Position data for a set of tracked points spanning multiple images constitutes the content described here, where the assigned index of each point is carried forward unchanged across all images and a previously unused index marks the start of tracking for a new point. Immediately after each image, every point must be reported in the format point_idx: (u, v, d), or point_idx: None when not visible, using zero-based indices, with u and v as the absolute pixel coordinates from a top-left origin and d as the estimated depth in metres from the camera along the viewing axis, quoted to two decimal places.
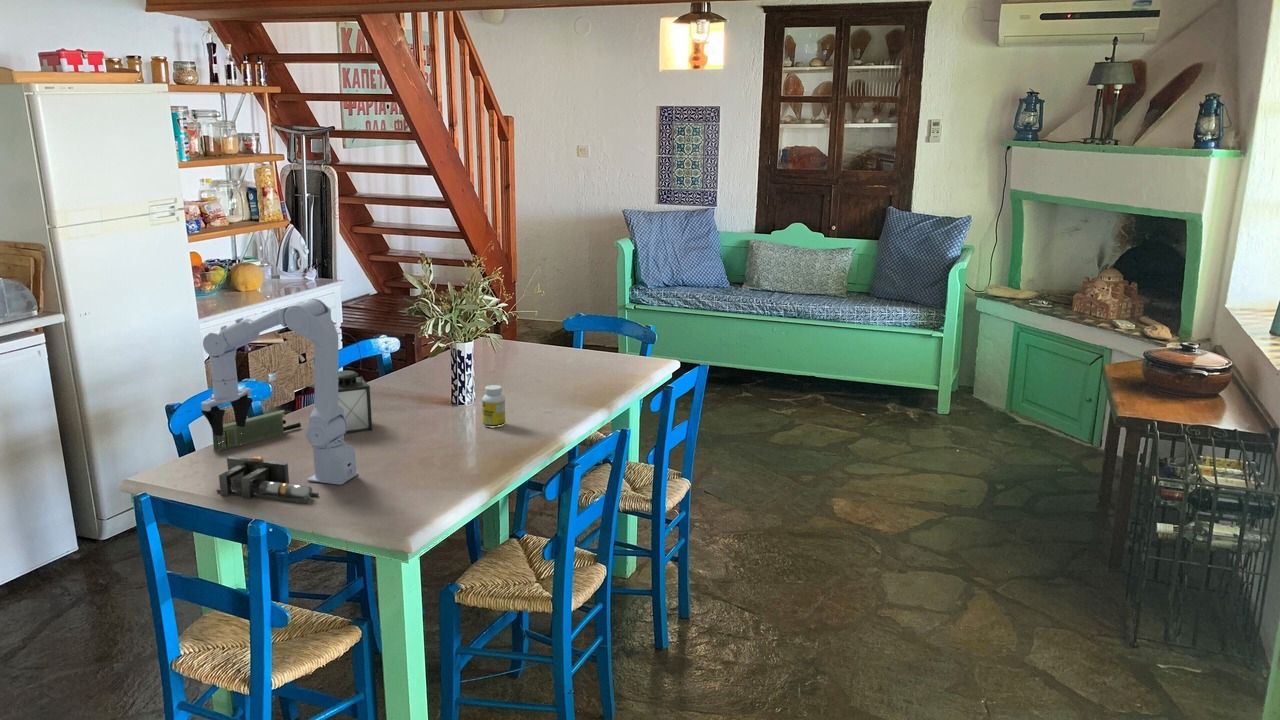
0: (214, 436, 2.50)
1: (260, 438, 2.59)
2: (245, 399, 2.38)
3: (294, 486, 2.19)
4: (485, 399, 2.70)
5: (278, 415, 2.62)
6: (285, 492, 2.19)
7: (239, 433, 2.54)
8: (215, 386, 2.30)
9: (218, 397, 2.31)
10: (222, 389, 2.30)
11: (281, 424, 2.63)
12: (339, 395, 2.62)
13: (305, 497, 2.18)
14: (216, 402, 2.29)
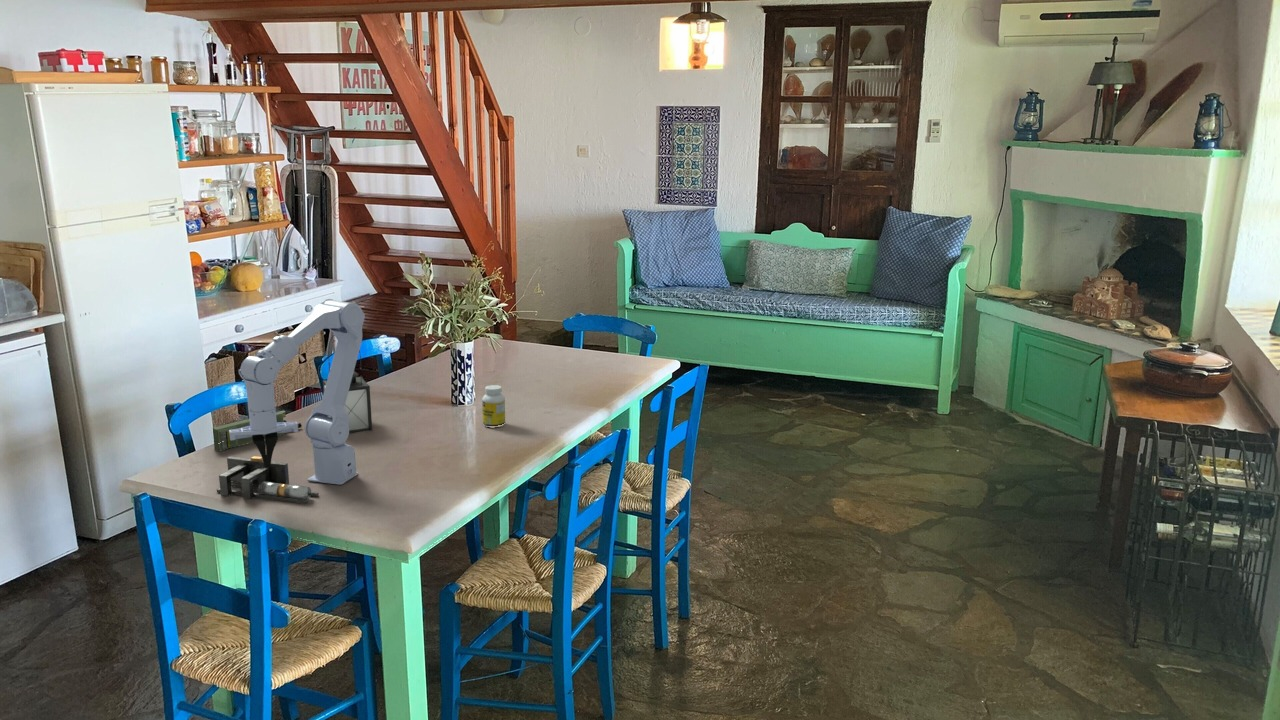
0: (215, 437, 2.50)
1: None
2: (269, 437, 2.14)
3: (292, 488, 2.18)
4: (485, 399, 2.70)
5: (278, 416, 2.62)
6: (284, 494, 2.18)
7: None
8: (249, 415, 2.13)
9: (250, 427, 2.13)
10: (251, 420, 2.12)
11: None
12: None
13: (305, 499, 2.18)
14: (241, 433, 2.11)
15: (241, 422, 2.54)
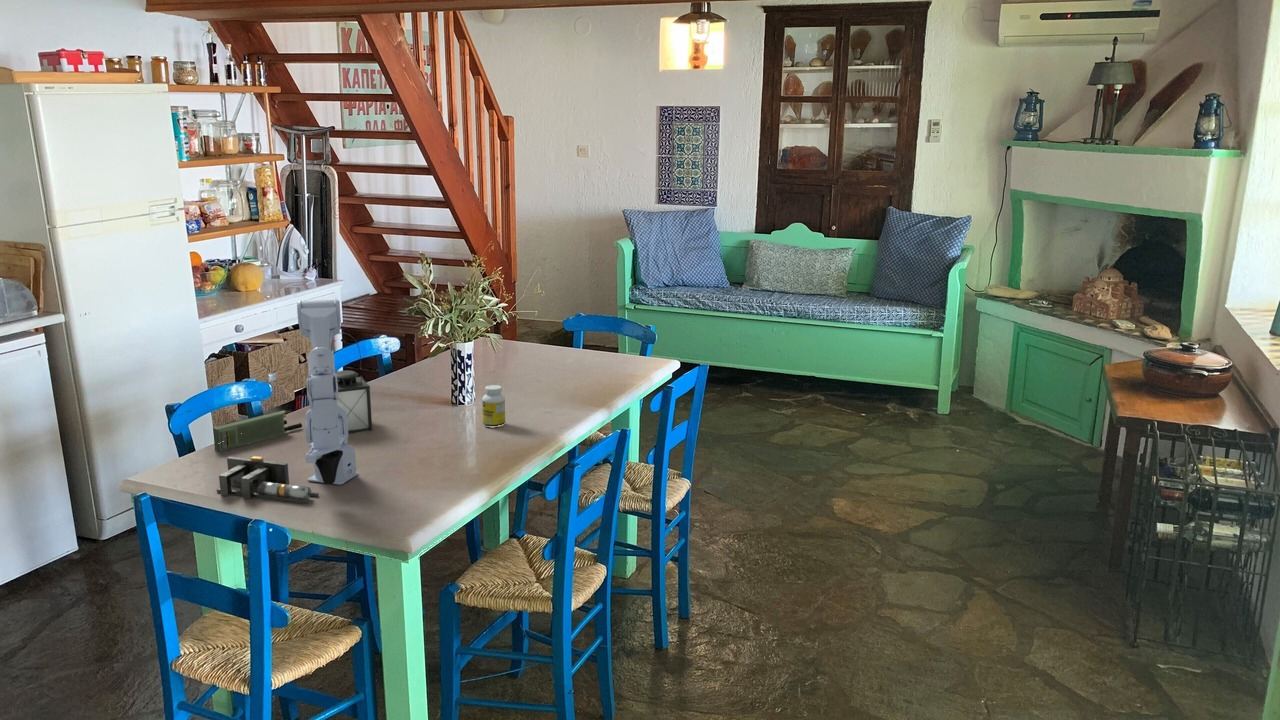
0: (215, 437, 2.49)
1: (261, 439, 2.59)
2: (336, 452, 2.15)
3: (292, 488, 2.18)
4: (485, 399, 2.70)
5: (279, 416, 2.62)
6: (284, 494, 2.18)
7: (240, 433, 2.54)
8: (318, 435, 2.11)
9: (320, 447, 2.11)
10: (325, 438, 2.11)
11: (282, 424, 2.63)
12: (339, 395, 2.62)
13: None
14: (321, 453, 2.09)
15: (241, 422, 2.54)
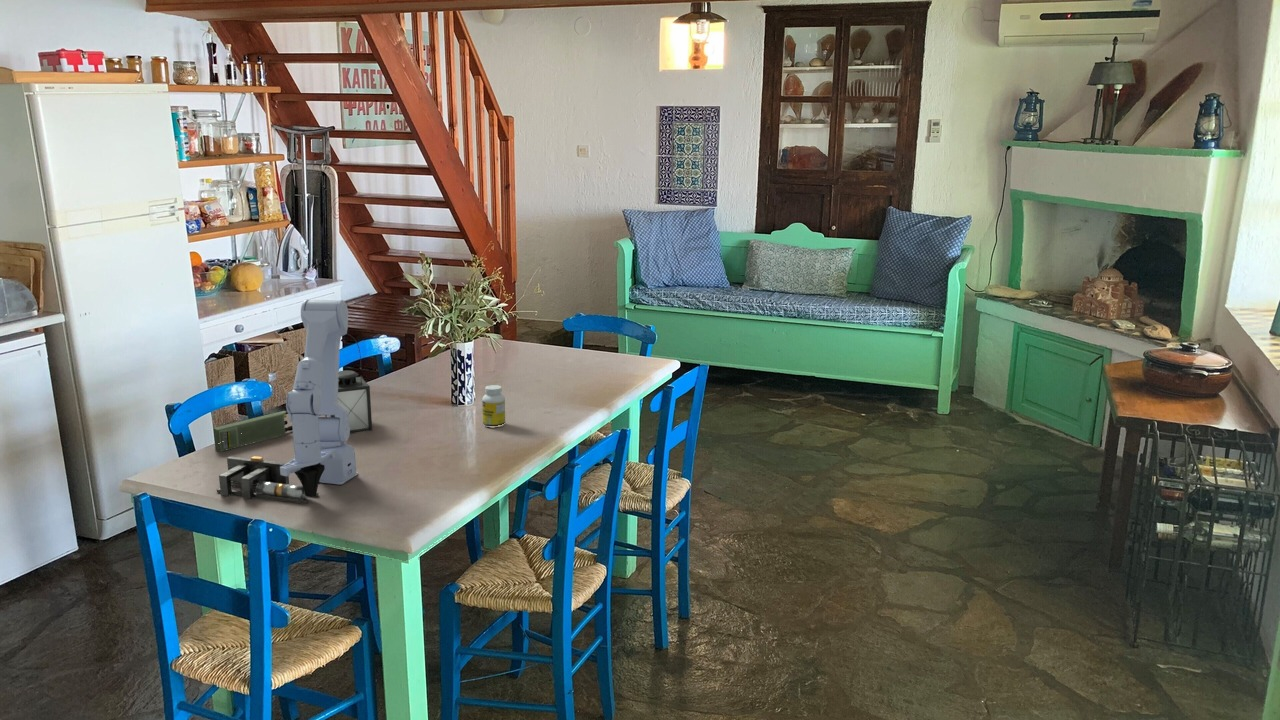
0: (216, 437, 2.49)
1: (261, 439, 2.59)
2: (317, 466, 2.17)
3: (289, 488, 2.18)
4: (485, 399, 2.70)
5: (279, 416, 2.62)
6: (282, 494, 2.18)
7: (241, 434, 2.54)
8: (296, 448, 2.13)
9: (299, 460, 2.14)
10: (303, 452, 2.13)
11: (283, 425, 2.63)
12: (339, 395, 2.62)
13: (302, 498, 2.18)
14: (295, 467, 2.12)
15: (242, 422, 2.54)
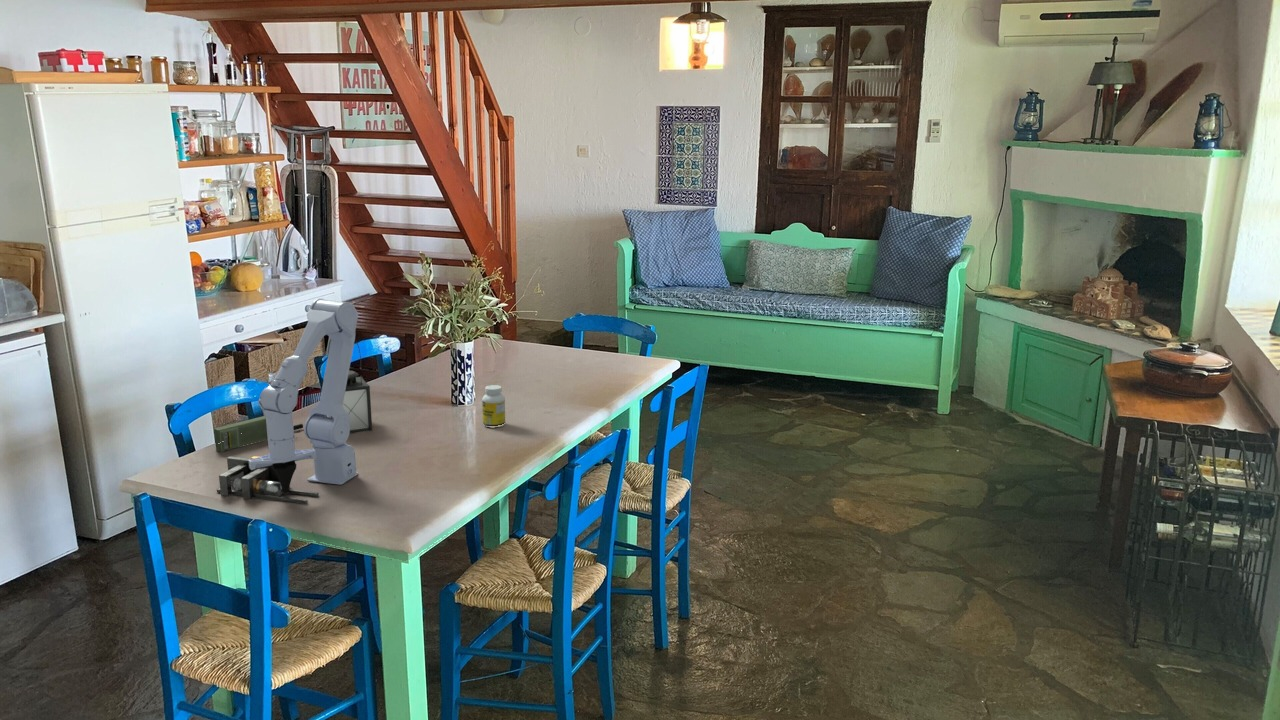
0: (216, 437, 2.49)
1: (262, 439, 2.59)
2: (288, 465, 2.17)
3: (267, 483, 2.21)
4: (485, 399, 2.70)
5: None
6: (259, 489, 2.21)
7: (241, 434, 2.53)
8: (268, 444, 2.16)
9: (269, 456, 2.16)
10: (271, 449, 2.15)
11: None
12: None
13: (278, 494, 2.20)
14: (262, 462, 2.14)
15: (243, 423, 2.54)
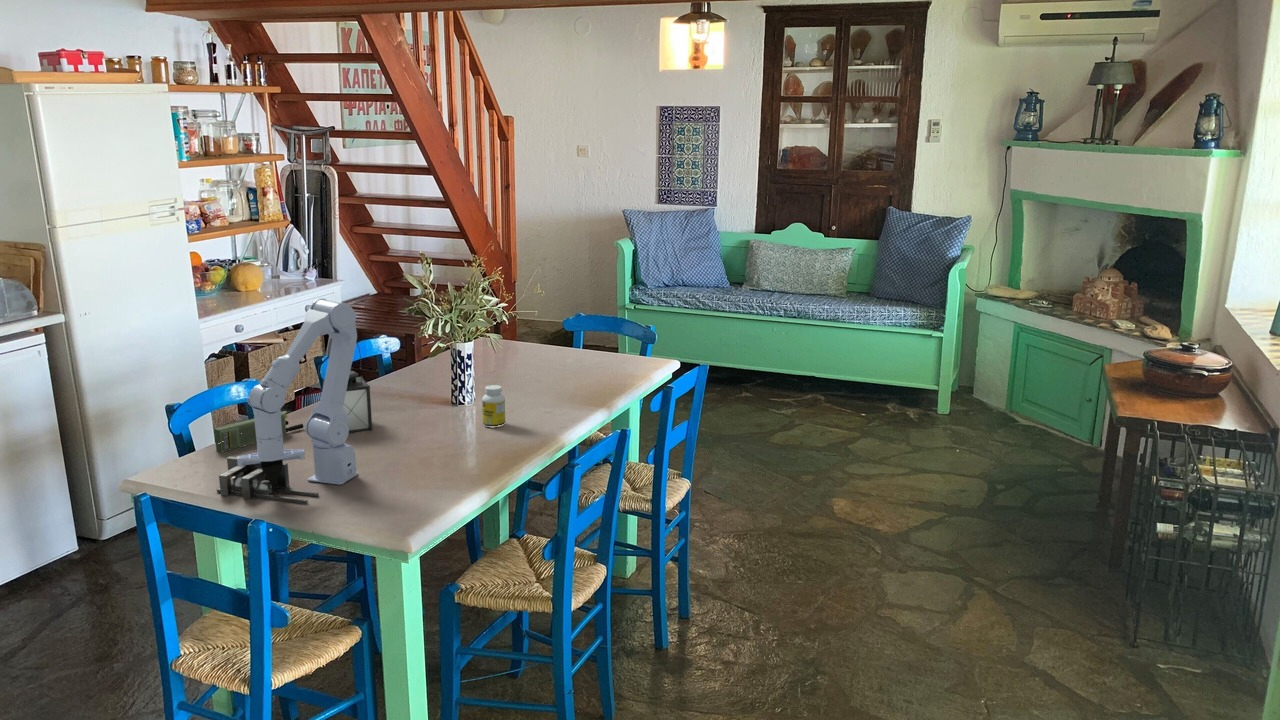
0: (217, 437, 2.49)
1: None
2: (274, 464, 2.18)
3: (257, 481, 2.22)
4: (485, 399, 2.70)
5: None
6: None
7: (242, 434, 2.53)
8: None
9: (257, 454, 2.17)
10: (258, 447, 2.16)
11: (284, 425, 2.63)
12: None
13: (268, 492, 2.21)
14: (248, 459, 2.16)
15: (243, 423, 2.54)
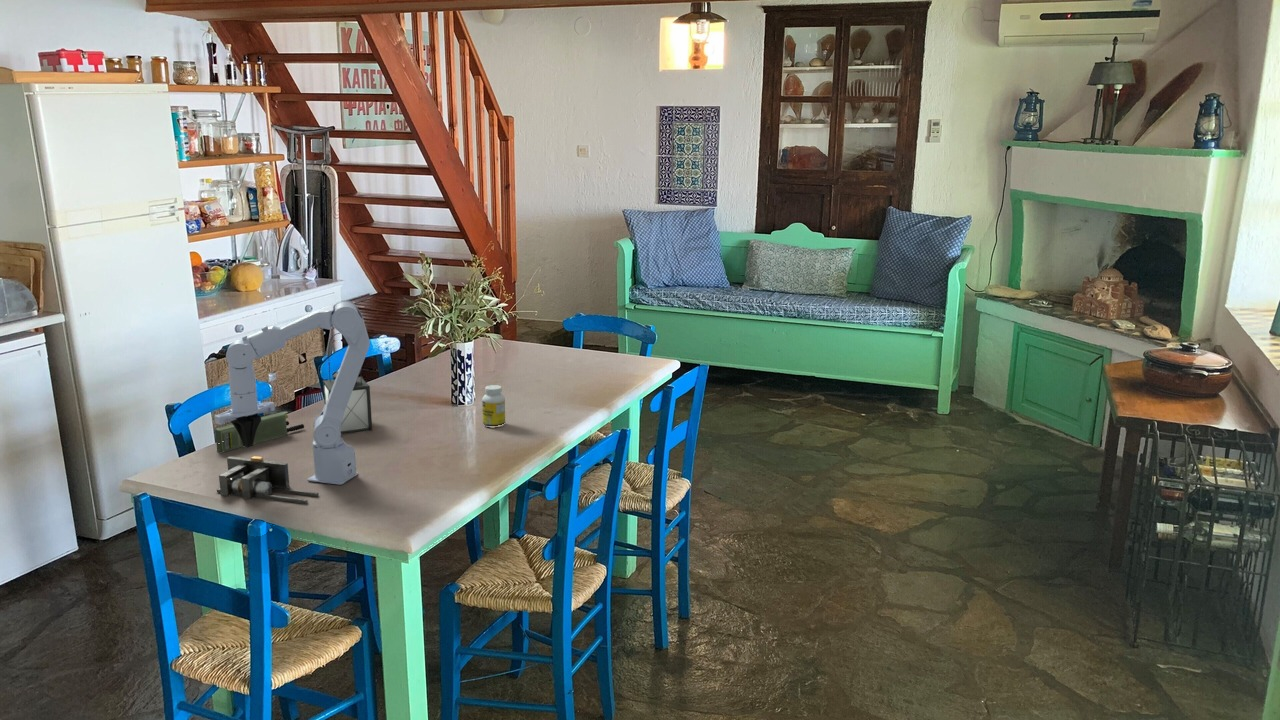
0: (217, 438, 2.49)
1: (263, 440, 2.58)
2: (253, 417, 2.23)
3: None
4: (485, 399, 2.70)
5: (281, 416, 2.61)
6: None
7: None
8: (232, 399, 2.20)
9: (234, 411, 2.20)
10: (238, 403, 2.19)
11: (284, 425, 2.62)
12: None
13: (267, 494, 2.21)
14: (229, 416, 2.18)
15: None
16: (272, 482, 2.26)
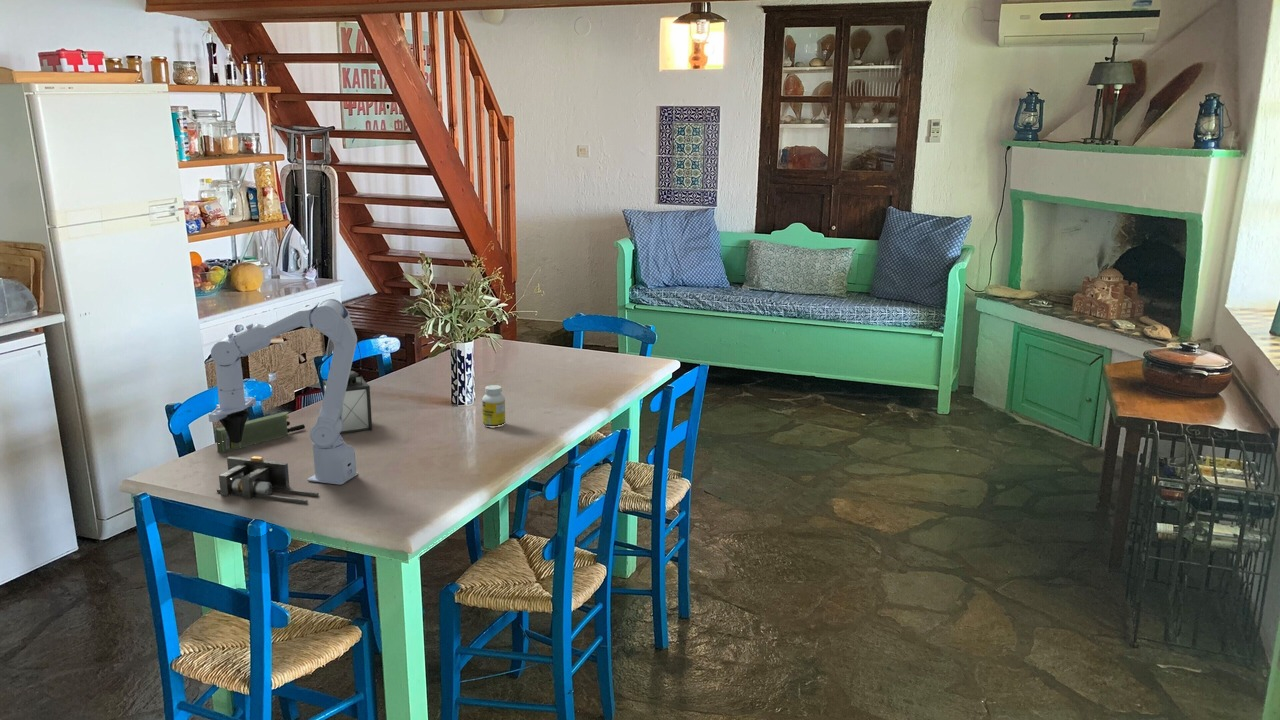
0: (218, 438, 2.49)
1: (263, 440, 2.58)
2: (241, 413, 2.27)
3: None
4: (485, 399, 2.70)
5: (282, 417, 2.61)
6: None
7: (243, 435, 2.53)
8: (222, 396, 2.22)
9: (225, 408, 2.23)
10: (229, 399, 2.22)
11: (285, 426, 2.62)
12: None
13: (267, 494, 2.21)
14: (224, 413, 2.21)
15: None
16: (272, 482, 2.26)
